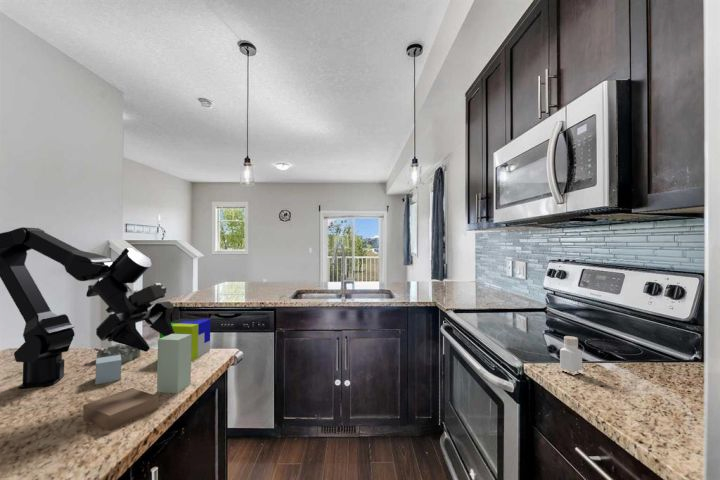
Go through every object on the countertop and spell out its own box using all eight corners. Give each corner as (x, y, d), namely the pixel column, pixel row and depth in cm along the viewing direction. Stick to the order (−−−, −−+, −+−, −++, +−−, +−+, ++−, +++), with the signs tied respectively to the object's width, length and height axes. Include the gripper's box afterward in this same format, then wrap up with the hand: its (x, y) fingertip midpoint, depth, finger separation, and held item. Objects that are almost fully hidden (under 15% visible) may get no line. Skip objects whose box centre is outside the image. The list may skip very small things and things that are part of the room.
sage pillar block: (156, 392, 77) (158, 339, 77) (170, 383, 82) (172, 333, 82) (177, 393, 76) (178, 340, 77) (190, 384, 81) (191, 334, 82)
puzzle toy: (209, 350, 108) (210, 319, 108) (191, 361, 98) (191, 326, 98) (180, 349, 109) (181, 318, 109) (159, 359, 99) (159, 325, 99)
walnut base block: (82, 420, 65) (83, 405, 65) (131, 401, 73) (132, 387, 73) (109, 432, 61) (109, 415, 61) (158, 411, 69) (158, 396, 69)
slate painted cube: (95, 384, 81) (95, 363, 81) (95, 378, 85) (96, 358, 85) (120, 380, 84) (121, 359, 84) (120, 374, 88) (120, 354, 88)
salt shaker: (573, 376, 88) (573, 340, 89) (559, 371, 92) (559, 336, 92) (583, 374, 90) (583, 338, 90) (568, 369, 94) (568, 335, 94)
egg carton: (91, 362, 96) (91, 348, 96) (113, 354, 104) (113, 341, 104) (125, 364, 95) (125, 349, 95) (145, 355, 103) (145, 342, 103)
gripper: (109, 276, 71) (158, 330, 70) (167, 270, 90) (206, 312, 89) (74, 313, 72) (122, 367, 70) (139, 299, 90) (177, 342, 89)
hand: (162, 344), depth 80 cm, fingers open, 9 cm apart
